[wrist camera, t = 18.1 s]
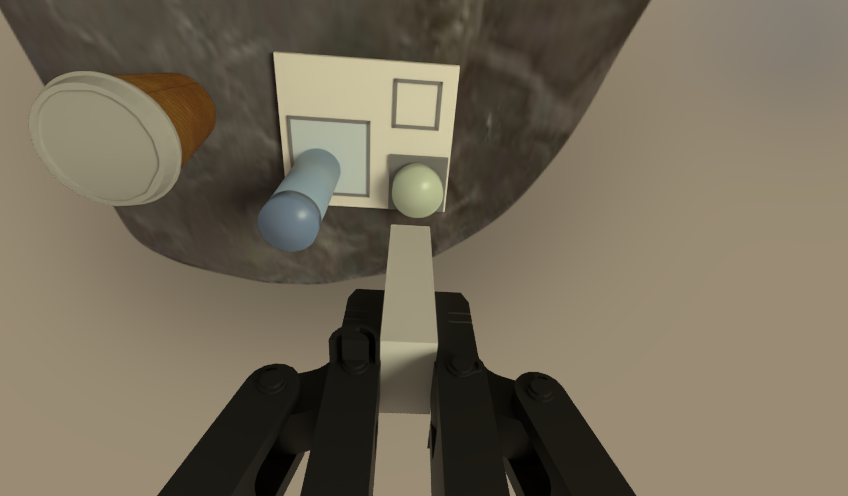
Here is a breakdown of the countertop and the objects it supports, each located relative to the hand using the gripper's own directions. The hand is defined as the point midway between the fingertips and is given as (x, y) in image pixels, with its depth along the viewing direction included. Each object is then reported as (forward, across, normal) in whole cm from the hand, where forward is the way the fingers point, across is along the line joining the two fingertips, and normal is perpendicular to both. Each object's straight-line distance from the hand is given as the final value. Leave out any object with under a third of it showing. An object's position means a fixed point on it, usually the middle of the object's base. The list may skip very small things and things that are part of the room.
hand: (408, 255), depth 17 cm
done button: (+25, +1, -7) cm, 26 cm away
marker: (+26, -9, -6) cm, 28 cm away
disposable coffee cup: (+27, -21, -2) cm, 34 cm away
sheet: (+26, -4, -3) cm, 27 cm away
